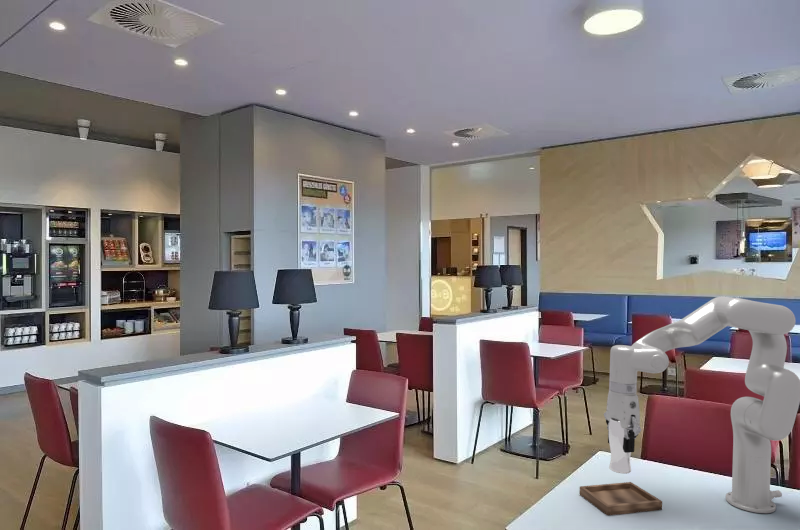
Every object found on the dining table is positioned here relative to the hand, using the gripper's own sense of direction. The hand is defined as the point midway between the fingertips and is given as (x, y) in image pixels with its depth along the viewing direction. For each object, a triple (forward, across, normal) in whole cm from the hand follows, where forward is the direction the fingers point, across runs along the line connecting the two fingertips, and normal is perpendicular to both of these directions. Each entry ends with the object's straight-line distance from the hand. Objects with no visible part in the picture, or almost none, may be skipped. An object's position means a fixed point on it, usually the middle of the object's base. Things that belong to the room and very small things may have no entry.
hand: (620, 447), depth 164 cm
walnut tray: (+16, 0, 0) cm, 16 cm away
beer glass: (+7, 0, 0) cm, 7 cm away
